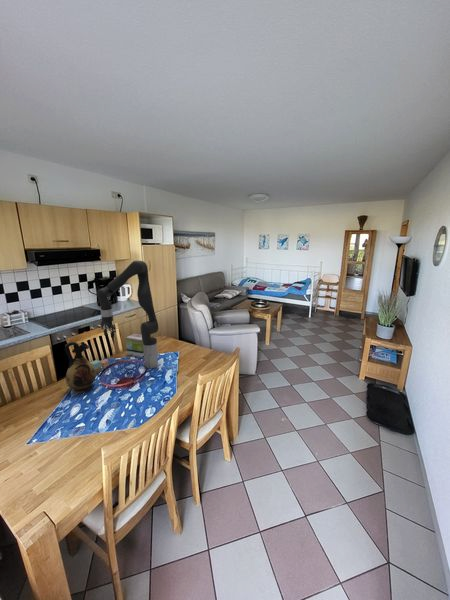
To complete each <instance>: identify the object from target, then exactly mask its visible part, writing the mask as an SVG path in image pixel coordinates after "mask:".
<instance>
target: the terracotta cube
mask: <svg viewBox="0 0 450 600" xmlns="http://www.w3.org/2000/svg"><path fill="white" fill-rule="evenodd" d="M100 361H101V365H102V368H105V367H106V366H108V365H109V366H110V364H109V363H110V361H109V359H101V360H100ZM109 366H108V367H109ZM105 369H106V368H105Z"/></svg>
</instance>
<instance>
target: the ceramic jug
mask: <svg viewBox="0 0 450 600" xmlns="http://www.w3.org/2000/svg"><path fill="white" fill-rule="evenodd" d="M72 346H74V348H72V351H71V352H72V353H73V354H75V355H74V357H73V356H72V354H71V352H70V350H69V348H70V347H72ZM88 349H90V345H88V344H87V343H85V342H82V343H81V344H78V342H76V341H69V342H66V345H65V347H64V351H65V353H66V354H65V355H67V357H68V359H69V363H68V368H67V371H66V374H65V383H66V385H67V386H68V387H69V388H70V390H71V389H72V392H74V393H77V394H80V393H82V394H83V393H87V392H88V391H89V390H91V389H92V385H93V383H94V382H95V381H96V377H97V375H96V372H95V369H94V367H93V365H92V364H91V363H90V362H91V361H89V360H88V359H87V358H86V357H85V356H84V355H83V352H84V351H86V350H88Z"/></svg>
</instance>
